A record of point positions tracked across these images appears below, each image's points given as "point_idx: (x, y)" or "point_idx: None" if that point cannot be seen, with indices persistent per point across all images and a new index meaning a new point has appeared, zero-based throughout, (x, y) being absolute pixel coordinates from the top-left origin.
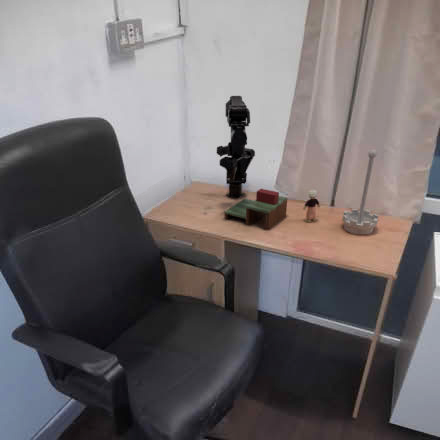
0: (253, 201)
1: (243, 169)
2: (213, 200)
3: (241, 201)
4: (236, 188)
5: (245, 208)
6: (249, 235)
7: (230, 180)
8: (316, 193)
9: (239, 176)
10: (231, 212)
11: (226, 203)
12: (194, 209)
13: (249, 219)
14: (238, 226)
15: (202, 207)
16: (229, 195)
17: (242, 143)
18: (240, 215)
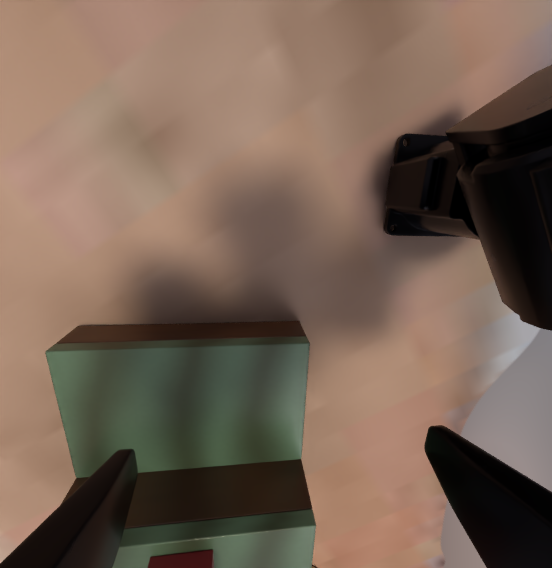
0: (131, 549)
1: (492, 528)
2: (290, 91)
3: (255, 353)
4: (438, 218)
5: (171, 424)
6: (16, 499)
7: (107, 466)
8: None
9: (512, 286)
10: (62, 394)
11: (286, 208)
12: (58, 45)
13: None
14: (57, 422)
15: (132, 87)
16: (391, 170)
17: None
18: (70, 448)
